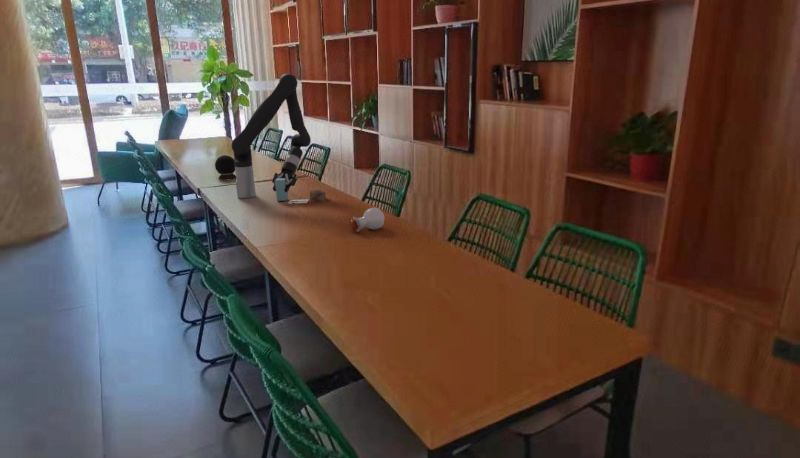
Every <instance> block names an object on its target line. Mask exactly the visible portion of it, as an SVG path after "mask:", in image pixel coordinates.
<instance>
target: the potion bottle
mask: <svg viewBox="0 0 800 458" xmlns="http://www.w3.org/2000/svg"><path fill="white" fill-rule="evenodd" d="M352 217H353V218H352V219H351V218H349V219H348V220H349V227H350V229H351V230H352V232H353V233H355V232H356V231H357V232H358V233H359V232H360V231H361V229H363V228H365V227H366V228H368V229H369V230H371V231H372V230H373V231H374V230H375V231H376V230H378V229H380V228H382V227H383V225H384V223H385V215H384V213H383V211H382V210H381V209H379V208H378V207H369V208H368V209H366V210H365V211H364V213H363V216H362V217H361V216H360V217H356V216H352Z"/></svg>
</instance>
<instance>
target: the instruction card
mask: <svg viewBox="0 0 800 458" xmlns="http://www.w3.org/2000/svg"><path fill="white" fill-rule="evenodd" d="M309 201H310V198H308V199H290V200H289V201H288V202H287V204H289V205H291V204H292V203H295V204H308V202H309Z"/></svg>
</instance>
